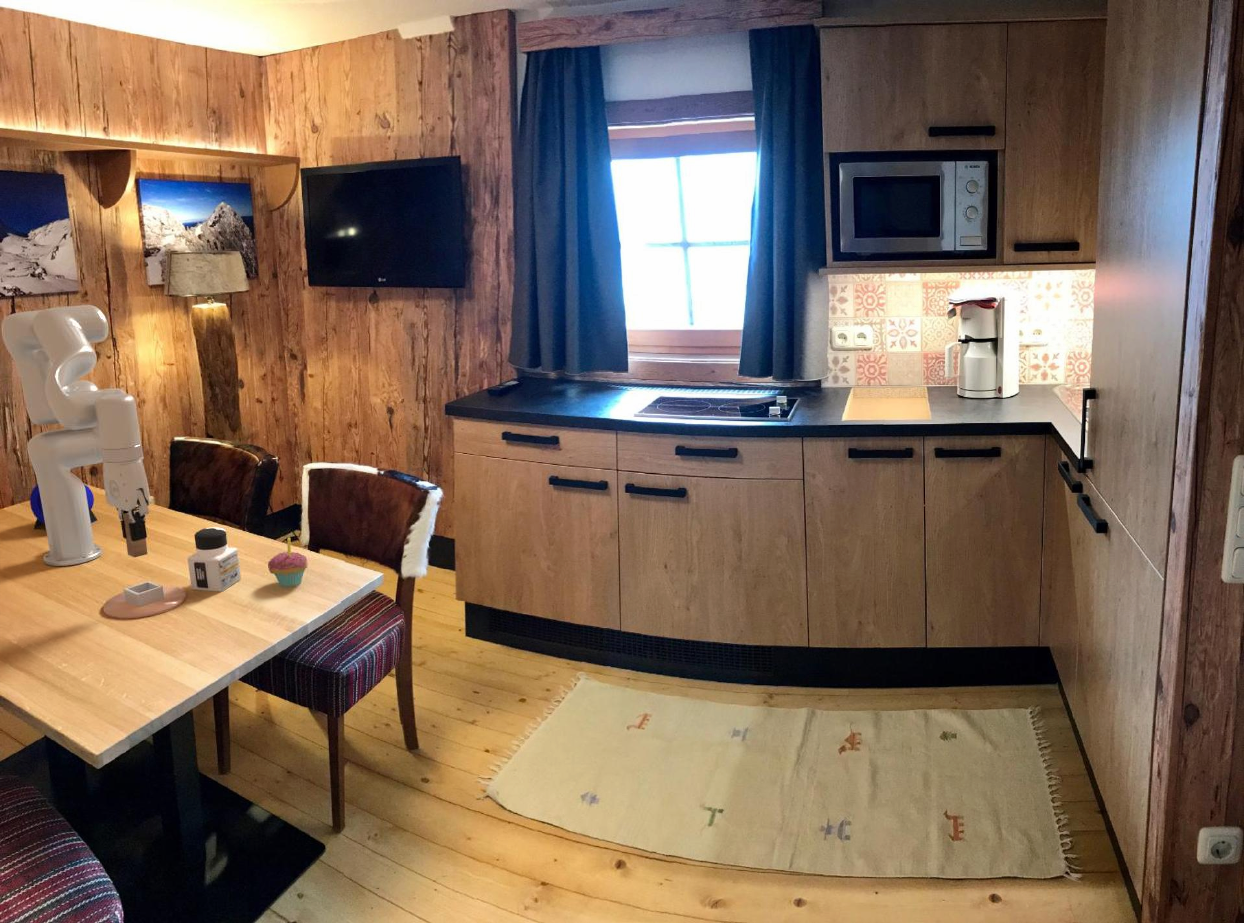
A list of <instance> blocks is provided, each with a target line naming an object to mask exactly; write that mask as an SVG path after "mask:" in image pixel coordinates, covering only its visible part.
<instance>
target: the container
mask: <svg viewBox="0 0 1244 923" xmlns="http://www.w3.org/2000/svg"><path fill="white" fill-rule="evenodd" d="M227 537H228V536H227V531H226V530H225V529H224V528H222V527H218V526H212V527H205V528H202V529H200V530H198V531H197V532H195V534H194V541H195V542H194V544H195V551H196V552H195V553H193V554H191V555H190V556H188V557H187V564H188V571H189V581H190V587H191V589H192V590H196V591H205V592H206V591H209V592H218V593H219V592H220V593H221V592H224V591H225V590H227V589H228V588H229V587H231V586H232V585H234V584H236V583H237V582H238V581H241V578H242V576H241V569H240V561H239V560H240V559H239V550H238V548H237V547H229V544H228V538H227Z"/></svg>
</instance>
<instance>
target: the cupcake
mask: <svg viewBox="0 0 1244 923" xmlns="http://www.w3.org/2000/svg"><path fill="white" fill-rule="evenodd" d="M291 543H292V542H291V537H290V534H288V537H287V546H286V547H287V551H285V552H280V553H278V554H276V555H274V556H273V557H272V558H271V559H270V560H269V561H268V562H267V563H268V564H267V568H268V571H269V573H270V574H273V575H274V576H275V578H276V580H277V582H278V584H279V586H280V587H284V588H290V587H291V586H292V587H296V586H299V585H300V584H301V583H302V580H303V577H304V573H305V571H306V569H307V568H308V564H309V563H308V559H307V557H306V556H305V555H303V554H301V553H298V552H293V551H292V552H291V550H292V548H291V546H292V545H291Z"/></svg>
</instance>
